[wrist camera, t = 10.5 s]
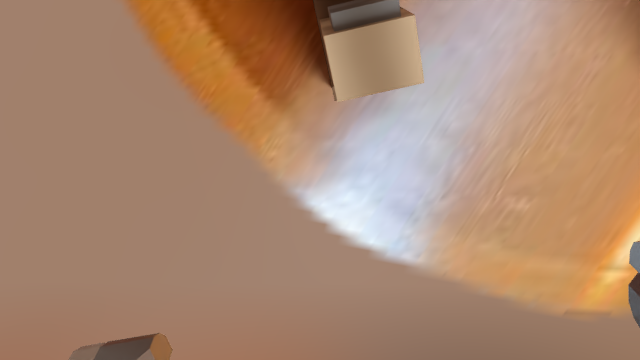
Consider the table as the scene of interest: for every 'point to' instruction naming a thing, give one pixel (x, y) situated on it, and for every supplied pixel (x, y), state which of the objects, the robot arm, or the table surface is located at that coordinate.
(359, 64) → the grey-banded wooden block
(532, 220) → the table surface
